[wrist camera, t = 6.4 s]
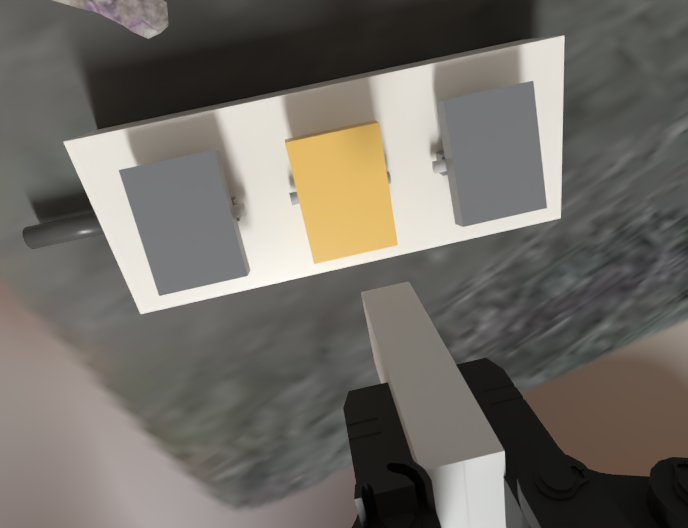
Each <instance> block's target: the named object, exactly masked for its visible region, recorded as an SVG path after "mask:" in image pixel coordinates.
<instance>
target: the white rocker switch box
mask: <svg viewBox="0 0 688 528" xmlns="http://www.w3.org/2000/svg"><path fill="white" fill-rule="evenodd" d="M529 81H533V83H534V92H535V101H536V110H537V120H538V129H539V138H540V147H541V156H542V166H543V175H544V184H545V193H546V202H547V208H545V209H540V210H536V211H531V212H527V213H523V214H518V215H514V216H509V217H505V218H501V219H496V220H492V221H487V222H483V223H479V224H474V225H470V226H465V227H462V226H459V225H456V224H455V219H454V213H453V207H452V200H451V194H450V188H449V181H448V175H447V169H446V162H445V156H444V149H443V143H442V137H441V130H440V124H439V118H438V111H437V105H436V103H438V102H441V101H443V100H446V99H451V98H455V97H460V96H464V95H469V94H474V93H478V92H483V91H488V90H492V89H497V88H502V87H506V86H511V85H515V84H520V83H525V82H529ZM563 81H564V36H554V37H544V38H534V39H524V40H518V41H513V42H509V43H504V44H499V45H495V46H490V47H485V48H480V49H476V50H471V51H466V52H462V53H457V54H452V55H447V56H443V57H438V58H433V59H429V60H424V61H419V62H414V63H410V64H405V65H400V66H395V67H391V68H386V69H381V70H377V71H372V72H367V73H362V74H358V75H353V76H348V77H344V78H339V79H334V80H329V81H325V82H320V83H315V84H311V85H306V86H301V87H296V88H292V89H287V90H282V91H277V92H273V93H268V94H263V95H259V96H254V97H249V98H244V99H240V100H235V101H230V102H226V103H221V104H216V105H211V106H207V107H202V108H197V109H193V110H188V111H183V112H178V113H174V114H169V115H164V116H159V117H155V118H150V119H145V120H141V121H136V122H131V123H126V124H122V125H117V126H112V127H108V128H103V129H98V130H95V131H92V132H89V133H87V134H84V135H81V136H78V137H75V138H73V139H70V140H67V141H64V145H65V147H66V149H67V151H68V153H69V156H70V158H71V160H72V162H73V165H74V167H75V169H76V171H77V173H78V176H79V178H80V180H81V182H82V185H83V187H84V189H85V191H86V193H87V196H88V198H89V200H90V202H91V205H92V207H93V209H94V211H95V212H93V213H89V214H84V215H80V216H75V217H70V218H66V219H61V220H57V221H52V222H48V223H43V224H38V225H34V226H29V227H26V228H24V230H23V238H24V241H25V243H26V244H27V246H28V247H30V248H32V249H36V248H41V247H45V246H50V245H54V244H59V243H63V242H68V241H72V240H77V239H81V238H86V237H91V236H95V235H100V234H105V236H106V238H107V240H108V242H109V245H110V247H111V249H112V251H113V254H114V256H115V258H116V260H117V262H118V265H119V267H120V269H121V271H122V274H123V276H124V278H125V280H126V282H127V285H128V287H129V289H130V291H131V294H132V296H133V298H134V300H135V302H136V305H137V307H138V309H139V311H140V314H144V313H148V312H152V311H157V310H161V309H165V308H170V307H174V306H179V305H183V304H187V303H192V302H196V301H201V300H205V299H209V298H214V297H218V296H222V295H227V294H231V293H236V292H240V291H244V290H249V289H253V288H257V287H262V286H266V285H271V284H275V283H279V282H284V281H288V280H292V279H297V278H301V277H306V276H310V275H314V274H319V273H323V272H328V271H332V270H336V269H341V268H345V267H349V266H354V265H358V264H363V263H367V262H371V261H376V260H380V259H384V258H389V257H393V256H398V255H402V254H406V253H411V252H415V251H419V250H424V249H428V248H433V247H437V246H441V245H446V244H450V243H455V242H459V241H463V240H468V239H472V238H476V237H481V236H485V235H490V234H494V233H498V232H503V231H507V230H511V229H516V228H520V227H525V226H529V225H533V224H538V223H542V222H546V221H551V220H555V219H560V218H561V181H562V131H563ZM372 120H375V121H377V122H379V125H380V132H381V138H382V145H383V151H384V158H385V164H386V171H387V177H388V184H389V190H390V197H391V203H392V210H393V216H394V223H395V229H396V236H397V242H398V245H396V246H392V247H387V248H383V249H379V250H374V251H370V252H365V253H361V254H357V255H352V256H348V257H344V258H339V259H335V260H330V261H326V262H322V263H317V264H314V261H313V257H312V253H311V249H310V245H309V241H308V236H307V232H306V228H305V224H304V220H303V216H302V211H301V207H300V203H299V199H298V195H297V191H296V186H295V182H294V178H293V174H292V170H291V166H290V162H289V157H288V153H287V149H286V145H285V139H288V138H293V137H298V136H302V135H307V134H311V133H316V132H321V131H325V130H330V129H335V128H339V127H344V126H348V125H353V124H358V123H362V122H367V121H372ZM209 150H218V151H219V155H220V159H221V163H222V166H223V170H224V174H225V178H226V181H227V185H228V189H229V192H230V196H231V200H232V204H233V207H234V211H235V215H236V218H237V222H238V226H239V230H240V233H241V237H242V241H243V244H244V248H245V252H246V256H247V259H248V263H249V267H250V272H249V274H248V276H245V277H241V278H237V279H232V280H228V281H223V282H219V283H215V284H210V285H206V286H201V287H197V288H193V289H188V290H184V291H179V292H175V293H171V294H166V295H162V296H159V294H158V291H157V288H156V285H155V282H154V279H153V275H152V272H151V269H150V266H149V263H148V260H147V257H146V254H145V251H144V248H143V244H142V241H141V238H140V235H139V232H138V229H137V226H136V223H135V220H134V216H133V213H132V210H131V207H130V204H129V201H128V198H127V195H126V192H125V188H124V185H123V182H122V179H121V176H120V173H119V170H121V169H126V168H131V167H135V166H140V165H145V164H149V163H154V162H158V161H163V160H168V159H172V158H177V157H182V156H186V155H191V154H196V153H200V152H205V151H209Z"/></svg>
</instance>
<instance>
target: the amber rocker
mask: <svg viewBox="0 0 688 528" xmlns="http://www.w3.org/2000/svg"><path fill="white" fill-rule="evenodd" d="M285 145H286V149H287V153H288V157H289V162H290V166H291V170H292V174H293V178H294V182H295V186H296V191H297V195H298V199H299V203H300V207H301V211H302V216H303V220H304V224H305V228H306V232H307V236H308V241H309V245H310V249H311V253H312V257H313V261H314V264H317V263H322V262H326V261H330V260H335V259H339V258H344V257H348V256H352V255H357V254H361V253H365V252H370V251H374V250H379V249H383V248H387V247H392V246H396V245H398V242H397V236H396V229H395V223H394V216H393V210H392V203H391V197H390V190H389V184H388V177H387V171H386V164H385V158H384V151H383V145H382V138H381V132H380V125H379V122H377V121H375V120H372V121H367V122H362V123H358V124H353V125H348V126H344V127H339V128H335V129H330V130H325V131H321V132H316V133H311V134H307V135H302V136H298V137H293V138H288V139H285Z"/></svg>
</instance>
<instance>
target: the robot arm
mask: <svg viewBox="0 0 688 528" xmlns="http://www.w3.org/2000/svg"><path fill="white" fill-rule="evenodd" d="M361 295H362V300H363V305H364V310H365V315H366V320H367V325H368V330H369V335H370V340H371V345H372V350H373V356H374V361H375V365H376V368H377V371H378V375H379V378H380V381H381V384H378V385H374V386H369V387H365V388H361V389H357V390H352V391H349V393H348V396H347V399H346V402H345V405H344V407H343V409H344V415H345V420H346V426H347V432H348V438H349V443H350V449H351V455H352V461H353V467H354V472H355V478H356V485H355V497H354V500H355V503H356V507H357V511H358V515H357V518H356V521H355V522H354V525H353V526H352V528H688V458H679V457H678V458H677V457H672V458H668V459H665V460H661V461H659V462H658V463H657V464H656V465H655V466H654V467H653V468H652V469H651V473H650V477H645V476H627V475H612V474H605V473H599V472H596V471H593V470H590V469H588V468H587V467H586V466H585V465H584V464H583V463H581V462H580V461H578V460H576V459H574V458H572V457H570V456H568V455H565V454H564V453H563V451H562V450H561V449H560V448H559V447H558V446H557V444H556V443H555V441H554V440H553V439H552V437H551V436H550V434H549V433H548V431H547V430H546V429H545V427H544V426H543V424H542V423H541V422H540V420H539V419H538V417H537V416H536V415H535V413H534V412H533V410H532V409H531V408H530V406H529V405H528V404H527V402H526V401H525V400H524V399H523V396H522V395H521V393H520V392H519V391H518V389H517V388H516V387H514V384H513V382H512V381H511V379H510V378H509V377H508V375H507V374H506V372H505V371H504V370H503V369H502V368H501V367H499V366H498V365H496V364H495V363H493V362H492V361H490V360H488V359H487V358H483V359H479V360H474V361H470V362H466V363H462V364H457V365H456V364H455V362H454V360H453V359H452V357H451V355H450V353H449V352H448V350H447V348H446V346H445V345H444V343H443V341H442V339H441V337H440V336H439V334H438V332H437V330H436V329H435V327H434V325H433V323H432V322H431V320H430V318H429V316H428V315H427V313H426V311H425V309H424V307H423V306H422V304H421V302H420V300H419V299H418V297H417V295H416V293H415V292H414V290H413V288H412V286H411V285H410V283H409V281H408V282H404V283H400V284H395V285H391V286H386V287H382V288H378V289H373V290H369V291H364V292H361Z"/></svg>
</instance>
